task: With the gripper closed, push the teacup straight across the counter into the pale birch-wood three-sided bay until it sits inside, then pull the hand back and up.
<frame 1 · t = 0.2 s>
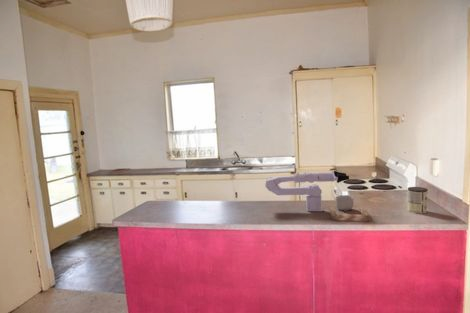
hand: (347, 176, 194), 22 cm above the countertop, tool horizontal, fingers open, 7 cm apart
teacup: (343, 209, 200), on the countertop
wooden bay: (348, 215, 185), on the countertop
coffee can: (416, 211, 191), on the countertop
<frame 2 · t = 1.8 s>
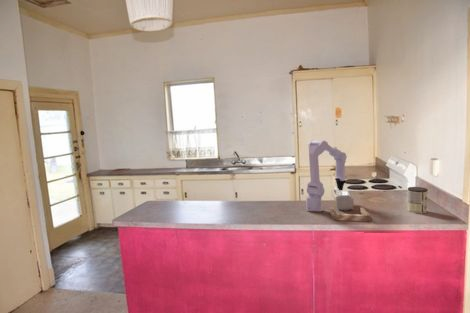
hand: (340, 189, 214), 9 cm above the countertop, tool pointing down, fingers open, 5 cm apart
nothing on the countertop moved.
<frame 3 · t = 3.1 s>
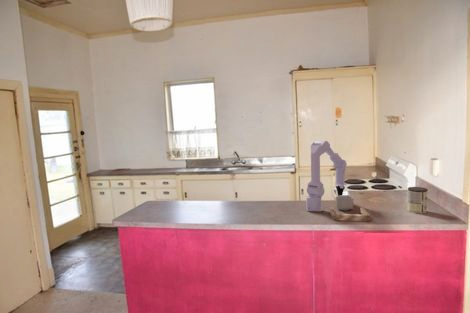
hand: (340, 196, 214), 4 cm above the countertop, tool pointing down, fingers closed
nothing on the countertop moved.
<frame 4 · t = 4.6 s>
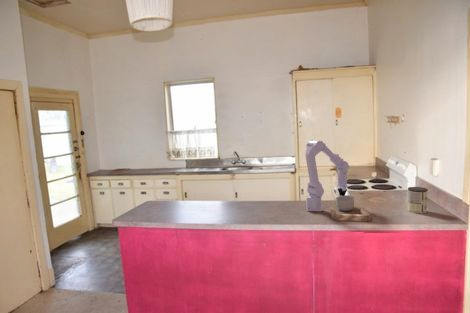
hand: (342, 199, 207), 4 cm above the countertop, tool pointing down, fingers closed
teacup: (344, 209, 199), on the countertop, touching gripper
everything else where it was.
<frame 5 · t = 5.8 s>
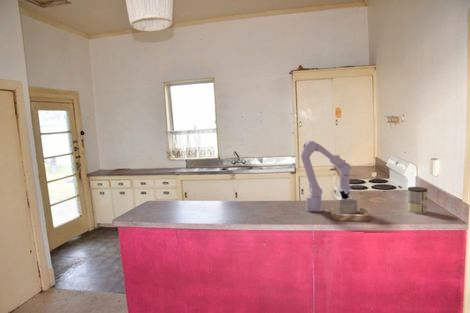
hand: (344, 202, 198), 4 cm above the countertop, tool pointing down, fingers closed
teacup: (347, 213, 190), on the countertop, touching gripper
everything else where it was.
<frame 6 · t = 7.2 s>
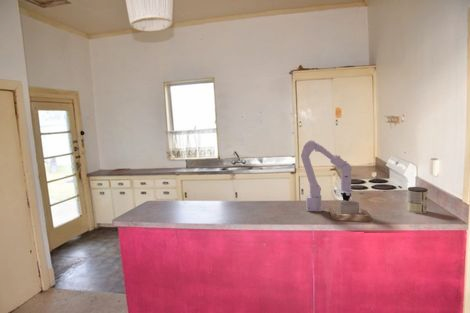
hand: (345, 204, 193), 4 cm above the countertop, tool pointing down, fingers closed
teacup: (348, 215, 186), on the countertop, touching gripper
everything else where it was.
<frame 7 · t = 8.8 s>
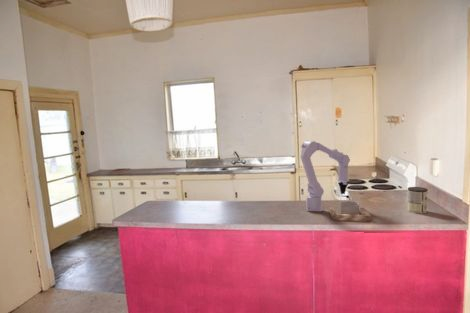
hand: (342, 193, 203), 9 cm above the countertop, tool pointing down, fingers closed
teacup: (348, 215, 186), on the countertop
everything else where it was.
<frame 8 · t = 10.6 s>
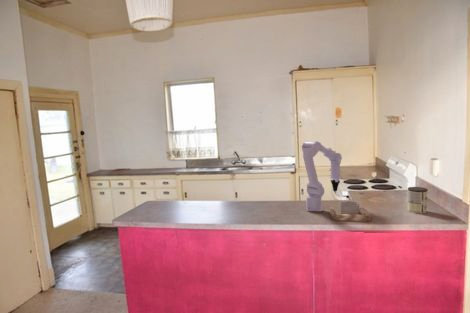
hand: (335, 190, 210), 9 cm above the countertop, tool pointing down, fingers closed
nothing on the countertop moved.
at the end: teacup inside the target area (0.4 cm from its centre), on the countertop; teacup tilted 0° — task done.
